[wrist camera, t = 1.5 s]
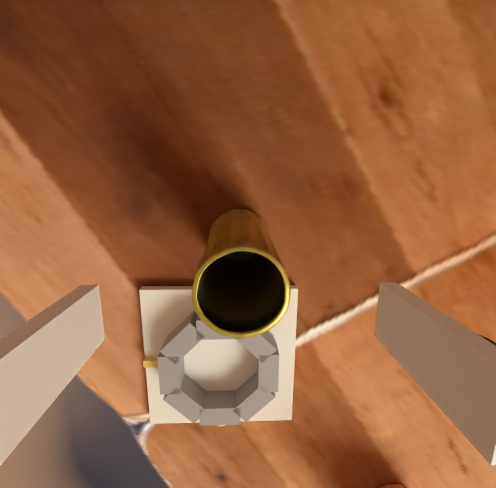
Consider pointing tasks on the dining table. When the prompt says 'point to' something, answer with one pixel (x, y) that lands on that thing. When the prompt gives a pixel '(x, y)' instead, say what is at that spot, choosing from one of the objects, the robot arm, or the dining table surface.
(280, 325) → the socket
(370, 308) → the dining table surface
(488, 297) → the dining table surface
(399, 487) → the potted plant
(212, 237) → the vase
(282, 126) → the dining table surface
